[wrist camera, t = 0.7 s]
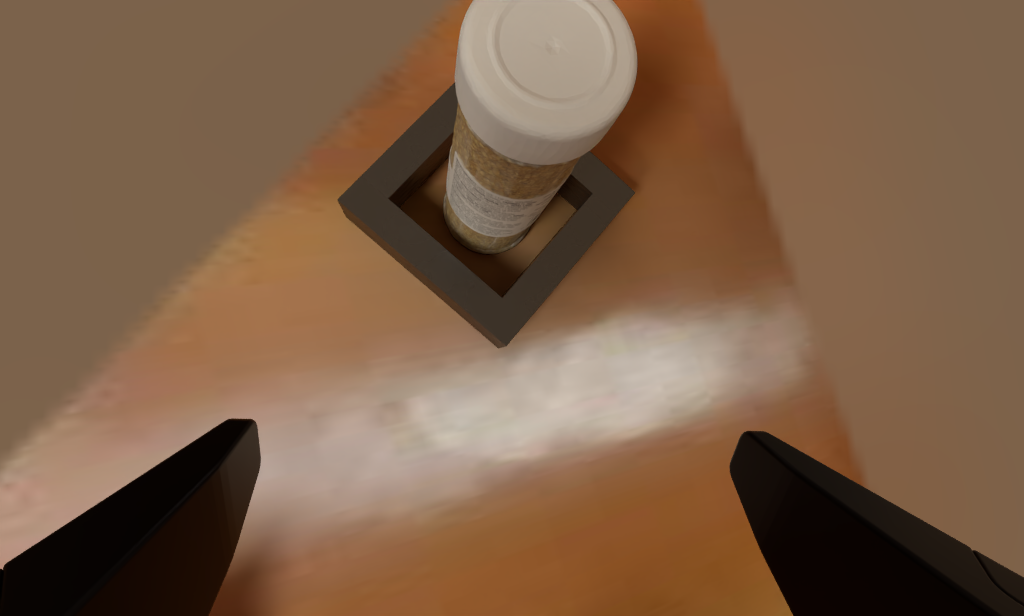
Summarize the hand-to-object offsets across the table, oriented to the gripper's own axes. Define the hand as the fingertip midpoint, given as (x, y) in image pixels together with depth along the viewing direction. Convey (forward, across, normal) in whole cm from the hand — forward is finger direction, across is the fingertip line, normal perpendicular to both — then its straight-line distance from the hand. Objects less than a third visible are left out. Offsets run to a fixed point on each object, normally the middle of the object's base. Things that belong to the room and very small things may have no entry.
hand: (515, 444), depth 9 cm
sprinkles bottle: (+18, -1, 0) cm, 18 cm away
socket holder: (+18, -1, 0) cm, 18 cm away
